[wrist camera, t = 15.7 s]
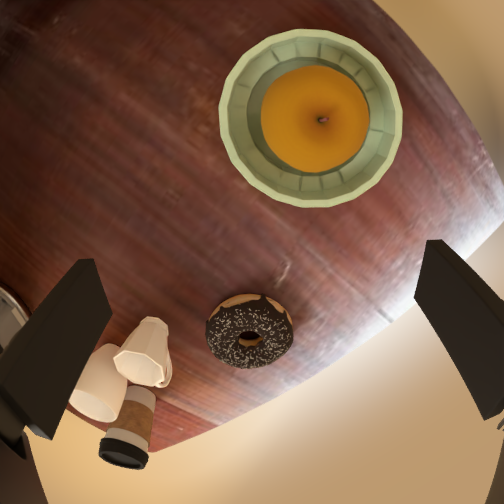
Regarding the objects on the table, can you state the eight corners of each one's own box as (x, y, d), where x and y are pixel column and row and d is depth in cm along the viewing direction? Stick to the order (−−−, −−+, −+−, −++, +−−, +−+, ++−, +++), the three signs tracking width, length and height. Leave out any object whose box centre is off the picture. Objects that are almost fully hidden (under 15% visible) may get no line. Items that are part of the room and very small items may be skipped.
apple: (317, 176, 30) (339, 205, 22) (241, 129, 28) (234, 140, 20) (365, 106, 26) (405, 111, 18) (290, 55, 24) (303, 36, 16)
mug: (120, 330, 41) (92, 388, 31) (146, 367, 45) (128, 423, 35) (69, 339, 43) (40, 388, 33) (95, 371, 47) (73, 420, 37)
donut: (309, 319, 39) (313, 340, 36) (252, 364, 44) (251, 385, 40) (244, 274, 36) (242, 293, 33) (190, 328, 41) (184, 349, 37)
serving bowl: (232, 190, 31) (226, 210, 26) (222, 45, 24) (214, 32, 19) (374, 188, 31) (396, 207, 26) (375, 49, 24) (400, 40, 18)
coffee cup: (116, 376, 47) (90, 445, 34) (160, 386, 48) (141, 460, 34) (123, 401, 51) (103, 464, 38) (164, 410, 51) (149, 476, 38)
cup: (164, 304, 39) (147, 347, 32) (194, 355, 43) (185, 398, 36) (123, 313, 40) (102, 353, 33) (155, 360, 44) (142, 400, 37)
